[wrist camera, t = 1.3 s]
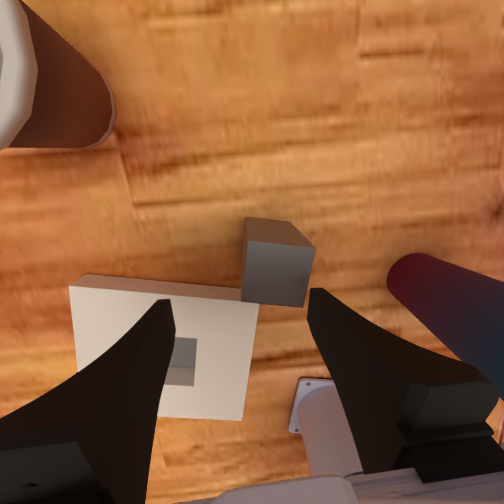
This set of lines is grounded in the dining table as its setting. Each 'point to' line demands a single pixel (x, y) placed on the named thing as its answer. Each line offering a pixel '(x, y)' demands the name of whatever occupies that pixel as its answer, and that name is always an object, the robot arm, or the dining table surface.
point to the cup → (455, 309)
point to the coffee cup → (48, 87)
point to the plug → (274, 263)
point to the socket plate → (186, 338)
